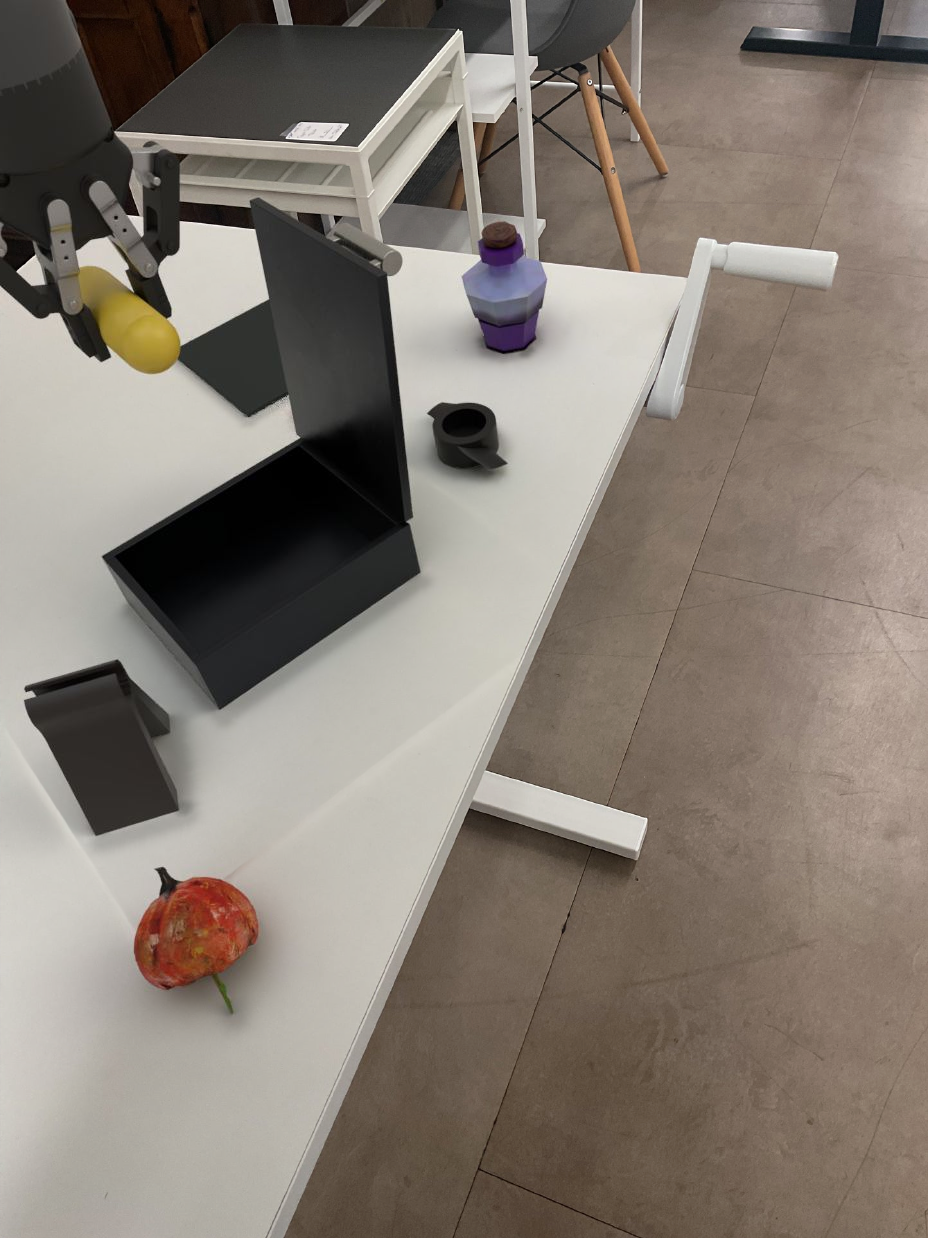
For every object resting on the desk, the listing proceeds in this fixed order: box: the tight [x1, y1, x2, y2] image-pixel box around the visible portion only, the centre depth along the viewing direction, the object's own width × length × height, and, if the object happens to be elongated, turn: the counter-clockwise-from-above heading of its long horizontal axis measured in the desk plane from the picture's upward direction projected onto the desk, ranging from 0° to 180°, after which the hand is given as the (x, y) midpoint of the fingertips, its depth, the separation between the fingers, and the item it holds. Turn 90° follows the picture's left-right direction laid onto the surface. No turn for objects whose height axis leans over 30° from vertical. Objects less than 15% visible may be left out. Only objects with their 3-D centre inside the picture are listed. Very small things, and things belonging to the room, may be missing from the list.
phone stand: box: [23, 658, 180, 837], centre depth 70 cm, size 9×6×12 cm, turn 15°
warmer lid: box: [249, 197, 414, 522], centre depth 76 cm, size 20×16×5 cm
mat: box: [177, 298, 289, 418], centre depth 107 cm, size 16×16×1 cm
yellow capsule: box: [78, 265, 181, 375], centre depth 63 cm, size 4×12×4 cm, turn 39°
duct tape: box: [426, 401, 509, 470], centre depth 92 cm, size 8×10×3 cm
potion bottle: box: [460, 221, 548, 355], centre depth 99 cm, size 9×9×12 cm
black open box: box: [101, 437, 422, 711], centre depth 82 cm, size 20×16×6 cm
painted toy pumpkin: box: [133, 866, 259, 1015], centre depth 62 cm, size 7×7×10 cm
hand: (128, 339), depth 64 cm, fingers closed on yellow capsule, 3 cm apart
